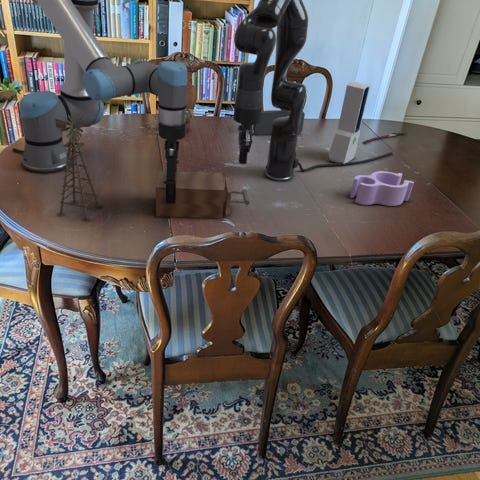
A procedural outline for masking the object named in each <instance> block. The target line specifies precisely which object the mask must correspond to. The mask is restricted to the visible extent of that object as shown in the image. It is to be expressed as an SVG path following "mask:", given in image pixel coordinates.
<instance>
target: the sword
mask: <svg viewBox="0 0 480 480" xmlns="http://www.w3.org/2000/svg"><path fill="white" fill-rule="evenodd" d="M406 134H408V132H407V133H403V134H401V133H400V132H392V133H389V134H387V135H381V136H378V137H373V138H370V139H366V140H365V141H363V145H365V144H367V143H370V142H374V141H378V140H381V139H386V138H391V137H397V136H399V135H406Z"/></svg>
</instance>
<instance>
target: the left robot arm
mask: <svg viewBox="0 0 480 480" xmlns="http://www.w3.org/2000/svg"><path fill="white" fill-rule="evenodd" d="M31 1H32V2H33V4H35V5H36V6H37V7H40V8H41V9H42V11H43V12H44V14H45V15H46V16H47V18H48V19H49V21H50V23H51V24H52V26H53V27H54V28H55V30H56V32H57V33H58V35H59V36H60V38H61V40H63V58H64V60H63V61H64V64H63V65H64V82H62V84H61V85H60V86H59V90H60V91H59V93H60V94H57V93H56V92H54V91H51V90H44V91H41V90H37V91H33V92H30V93H26V94H25V95H24V96H22V97H21V99H20V100H19V103H18V104H19V116H20V120H21V126H22V132H23V136H24V148H23V150H22V149H18V148H15V147H13V148H12V151H13V152H16V153H20V154H22V158H21V159H22V160H21V161H22V166H23V168H24V169H25V170H27V171H29V172H33V173H39V174H46V173H56V172H61V171H63V170H66V161H67V155H66V154H67V153H68V148H67V147H64V146H63V145H65V143H64V140H63V132H66V130H67V129H69V127H68V128H66V127H65V128H59V127H56V121H55V119H58V120H61V121H64V122H66V123H67V125H68V124H69V123H68V122H67V120H68V121H70V119H69V117H68V114H69V116H70V118H72V116H73V109H74V115H75V111H76V115H77V113H78V116H76V118H77V119H78V117H79V119H80V118H81V116H82V115H83V117H82V118H81V120H80V121H79V119H78V121H79V122H81V121H82V120H83V123H81V124H79V125H84V126H83V127H78V128H80V129H82V128H89V127H91V126H94V125H97V124H99V123H100V122H101V121H102V119H103V117H104V115H105V104H104V102H103V101H109V100H112V99H117V98H121V97H122V98H123V97H127V96H134V95H140V94H145V93H146V94H147V93H148V94H151V95H154V96H157V99H158V100H157V101H158V103H157V104H158V105H157V121H158V126H157V127H158V131H157V132H158V136H159V137H160V138H161V139H164V151H165V155H164V157H165V160H166V171H167V173H166V181H164V184H166V203H171V204H175V201H176V181H175V174H176V172H178V171H177V170H178V169H177V168H178V165H179V164H180V160H178V159H179V150H180V140H183V139H185V137H186V135H187V132H186V130H187V124H185V122H186V115H188V114H189V112H188V111H186V110H187V102H188V99H187V97H188V84H189V80H188V67H187V65H185V64H184V63H182V62H179V61H172V60H171V61H170V60H167V61H166V60H165V61H162V62H159V63H158V65H157V64H154V63H152V62H150V61H147V60H142V59H135V60H133V61H132V62H130V63H129V64H128V65H119V66H117V65H116V64H115V63H114V62H113V61H112V59H111V58H110V56H109V55H108V53H107V51H106V50H105V49H104V47H103V46H102V44H101V43H100V41H99V40H98V38H97V37H96V35H95V34H94V9H96V8H97V7H98V6H99V0H31ZM78 109H79V112H78ZM70 111H71V113H72V116H71V113H70ZM80 112H81V114H80ZM79 114H80V116H79ZM74 118H75V116H73V120H74ZM73 120H72V121H73ZM78 121H76V122H78ZM70 122H71V121H70ZM76 122H74V123H72V122H71V123H72V124H74V125H75V127H73V130H76V128H77V123H76ZM79 122H78V123H79ZM70 158H71V157H69V159H70ZM71 165H72V159H71V160H70V161H69V164H68V167H70V166H71Z"/></svg>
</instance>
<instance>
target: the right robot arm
mask: <svg viewBox="0 0 480 480" xmlns="http://www.w3.org/2000/svg"><path fill="white" fill-rule="evenodd" d="M308 27H309V15H308V11H307V9H306V6H305V4H304V2H303V0H259V1H258V3H257V5H256V6H255V8H253V10H252V11H250V13H248V15H246V16H245V18H243V20H241V22H240V23H239V24H238V26H237V27H236V30H235V31H234V35H233V44H234V47H235V48H236V50H238V52H241V53H244V54H249V55H255V56H256V57H255V60H254V61H252V62H243V63H241V64H240V65H239V66H238V72H237V83H236V90H235V95H234V96H235V97H234V108H233V121H234V122H235V123H238V128H237V130H238V137H237V141H238V151H239V153H238V163H239V164H240V165H246V164H247V161H248V153H250V152H251V148H252V144H253V136H254V130H253V125H254V124H258V123H259V122H260V119H261V111H263V101H264V85H265V77H266V72H267V68H268V66H269V63H270V60H271V57H272V55H273V52H274V49H275V57H274V58H275V59H274V67H273V68H274V69H273V75H272V83H271V93H270V102H271V105H272V107H273V108H275V109H279V110H286V111H290V115H289V116H288V117H281V118H277V119H275V120H274V121H273V123H272V131H271V134H270V139H269V147H268V155H267V162H266V166H265V176H266V177H267V178H269V179H270V180H273V181H278V182H285V181H289V180H290V179H292V176H293V175H294V170H295V169H297V168H298V167H299V170H300V171H301V172H308V171H309V172H310V171H312V170H313V169H315V168H321V167H339V166H340V167H341V166H350V165H357V164H364V163H368V162H372V161H375V160H378V159H381V158H385V157H387V156H391V155H393V154H394V152H393V151H390V152H388V153H385V154H381V155H378V156H375V157H372V158H368V159H363V160H356V161H349V162H348V163H345V164H343V163H336V162H335V163H322V164H321V163H320V164H315V165H313V166H310V167H309V168H308V167H307V168H303V166H302V164H301V163H300V159H299V158H297V150H296V149H297V142H298V137H299V133H298V131H299V126H300V123H301V118H302V112H304V107H305V103H306V98H307V87H306V85H305V84H303V83H299V82H295V81H291V80H287V74H288V70H289V67H290V66H291V64H292V63H293V61H294V60H295V58H297V56H298V55H299V53H300V52H301V51H302V49H303V48H304V47H305V44H306V43H307V38H308ZM274 28H276V32H275V30H274Z"/></svg>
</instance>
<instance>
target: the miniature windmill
mask: <svg viewBox="0 0 480 480" xmlns="http://www.w3.org/2000/svg"><path fill="white" fill-rule="evenodd" d="M78 112H79V109H78ZM70 113H71V111H70ZM80 114H81V112H80ZM80 114H79V116H80ZM71 116H72V113H71ZM73 116H75V118H74V120H73ZM73 116H72V118H70V116H69V114H68V117H69V119H70V121H71V122H72V123H74V122H76V121H78V119H79V117H78V119H77V118H76V116H78V113H77V115H76V111H75V115H74V109H73ZM82 117H83V115H82V116H81V118H82ZM81 118H80V119H79V121H80V120H81ZM72 120H73V121H72ZM55 121H56V127H59V128H65V127H66V128H68V127H69V129H67V130H66V131H65V133H66V138H67V140H68V141H67V142H66V143H64V145H63V146H64V147H66V148H67V151H68V153H67V154H66V155H67V161H66V168H65V169H63V170H64V177H63V184H62V192H61V193H60V195H61V200H60V201H59V204H60V208H59V215H63V211H64V205H68V206H73V207H79V208H82V210H83V216H84V220H88V214H87V207H88V206H89V205H90V204H91V203H92V202H93V201H95V204H96V207H98V208H99V207H100V203H99V200H98V194H96V192H95V191H96V190H95V188H94V185H93V183H92V179H91V176H90V174H89V172H88V168H87V165H86V162H85V159H84V157H83V151H81V148H82V147H84V146H85V145H86V143H84V141H83V142H81V141H80V140H81V137H82V136H83V135H82V133H83V132H84V130H83V129H82V128H84V127H83V126H84V125H79V124H81V123H83V120H82V121H81V122H79V121H78V122H79V123H78V122H76V123H77V128H76V129H73V127H75V125H74V124H72V123H71V122H70V121H68V120H67V122H68V123H69V124H68V125H67V123H66V122H64V121H61V120H58V119H55ZM78 127H82V128H78ZM79 141H80V142H79ZM69 157H70V159H69ZM79 157H80V160H81V163H82V164H79V162H78V158H79ZM70 160H71V164H70V165H69V166H68V164H69V161H70ZM80 167H82V168H81V169H80ZM75 168H76V170H75ZM79 169H80V170H79ZM83 171H84V172H85V175H86V178H84V177H81V173H82V172H83ZM75 174H77V176H76V175H75ZM70 176H72V178H70V179H69V180H67V178H68V177H70ZM76 179H77V180H78V186H76ZM82 180H83V181H87V182H86V183H85V184H84V185H82ZM71 182H72V184H71V185H68V184H69V183H71ZM88 185H89V186H90V190H91V192H92V193H88V192H84V191H83V189H84V188H85V187H87V186H88ZM71 188H72V191H71V192H70V193H68V194H67V195H65V194H66V192H67V191H68V190H70V189H71ZM77 190H79V191H77ZM76 194H80V198H81V204H82V205H81V204H76ZM71 195H72V203H71V202H65V200H66V199H67V198H69V197H70V196H71ZM84 195H85V196H92V198H91V200H89V201H88V202H87V203H85V197H84Z"/></svg>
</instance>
